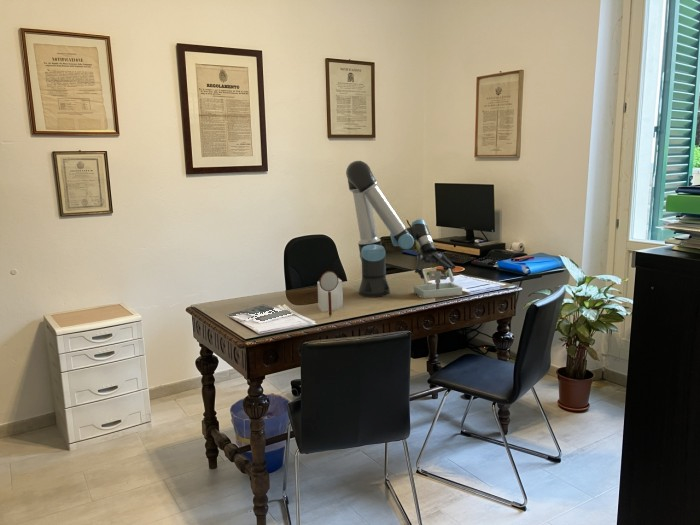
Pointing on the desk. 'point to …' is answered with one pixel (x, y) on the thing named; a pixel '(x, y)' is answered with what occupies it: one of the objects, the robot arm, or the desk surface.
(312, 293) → the desk surface
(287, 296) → the desk surface
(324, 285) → the magnifying glass
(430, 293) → the keeper cradle
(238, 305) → the desk surface
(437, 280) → the mechanical component
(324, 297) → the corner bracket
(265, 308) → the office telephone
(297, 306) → the desk surface
